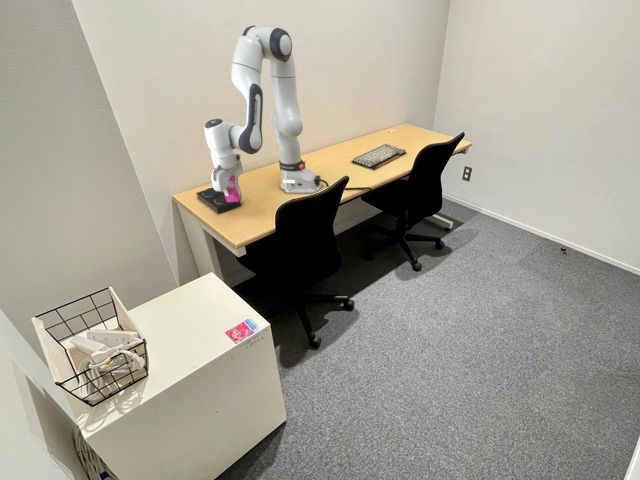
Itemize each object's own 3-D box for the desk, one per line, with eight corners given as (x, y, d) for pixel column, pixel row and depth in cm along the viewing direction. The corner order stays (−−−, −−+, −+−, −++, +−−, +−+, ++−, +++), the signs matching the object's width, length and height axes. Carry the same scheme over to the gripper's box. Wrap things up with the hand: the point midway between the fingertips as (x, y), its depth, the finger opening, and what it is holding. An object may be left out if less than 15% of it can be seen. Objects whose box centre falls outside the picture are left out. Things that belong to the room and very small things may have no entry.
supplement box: (229, 196, 151) (223, 173, 144) (242, 196, 152) (236, 173, 144) (226, 203, 147) (219, 179, 140) (239, 202, 147) (233, 178, 140)
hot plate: (243, 204, 162) (241, 198, 160) (218, 214, 155) (216, 207, 153) (221, 190, 174) (219, 183, 172) (197, 198, 167) (195, 191, 164)
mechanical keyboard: (374, 170, 197) (374, 164, 195) (349, 162, 207) (349, 157, 205) (407, 153, 220) (407, 148, 218) (384, 147, 230) (384, 142, 228)
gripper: (218, 172, 129) (227, 203, 138) (241, 153, 145) (248, 182, 154) (203, 170, 130) (213, 201, 139) (228, 152, 146) (236, 181, 155)
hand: (232, 191), depth 147 cm, fingers closed on supplement box, 6 cm apart
